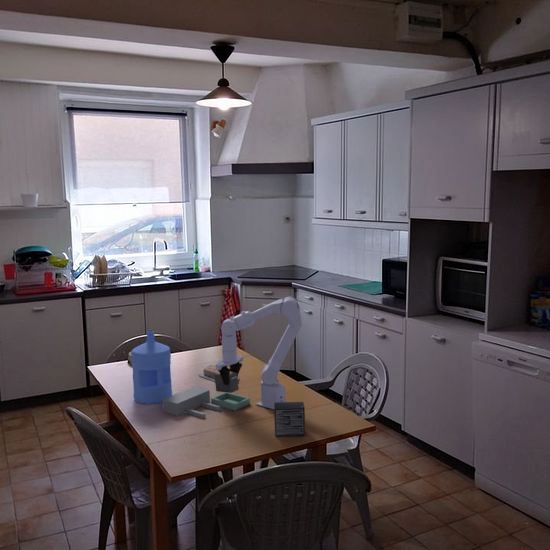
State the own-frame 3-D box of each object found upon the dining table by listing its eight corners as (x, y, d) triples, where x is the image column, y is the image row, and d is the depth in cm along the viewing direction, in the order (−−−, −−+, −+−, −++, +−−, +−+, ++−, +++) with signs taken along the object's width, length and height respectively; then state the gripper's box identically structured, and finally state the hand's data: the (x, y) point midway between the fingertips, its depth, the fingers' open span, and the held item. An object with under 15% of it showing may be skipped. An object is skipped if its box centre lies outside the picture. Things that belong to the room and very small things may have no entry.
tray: (250, 404, 231) (249, 398, 231) (235, 411, 224) (235, 404, 223) (226, 397, 238) (226, 391, 238) (211, 404, 231) (211, 398, 231)
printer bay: (227, 406, 228) (227, 394, 227) (195, 421, 214) (195, 408, 213) (195, 397, 238) (195, 386, 237) (163, 411, 224) (162, 399, 223)
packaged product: (240, 370, 260) (223, 375, 253) (240, 380, 261) (223, 386, 254) (214, 362, 272) (198, 367, 265) (215, 372, 273) (198, 377, 266)
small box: (303, 428, 207) (303, 400, 205) (305, 436, 200) (305, 407, 199) (274, 429, 206) (274, 401, 205) (275, 437, 200) (274, 408, 198)
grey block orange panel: (239, 389, 230) (237, 371, 230) (232, 392, 227) (230, 374, 226) (223, 388, 235) (221, 370, 235) (216, 391, 232) (214, 373, 231)
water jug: (127, 397, 240) (123, 331, 236) (160, 388, 250) (158, 325, 246) (144, 408, 228) (141, 339, 224) (179, 398, 238) (177, 332, 234)
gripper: (233, 344, 236) (234, 376, 238) (209, 352, 224) (210, 385, 226) (247, 346, 232) (247, 379, 234) (223, 355, 220) (223, 389, 222)
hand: (230, 382), depth 230 cm, fingers closed on grey block orange panel, 4 cm apart
